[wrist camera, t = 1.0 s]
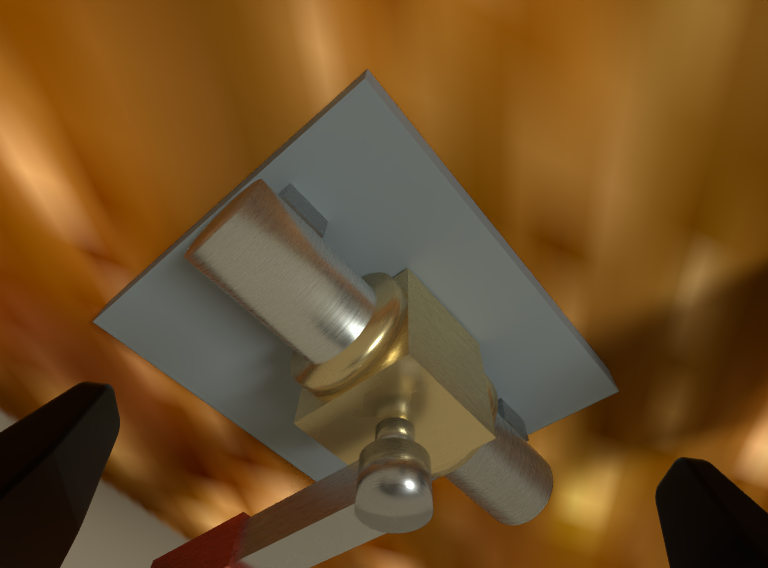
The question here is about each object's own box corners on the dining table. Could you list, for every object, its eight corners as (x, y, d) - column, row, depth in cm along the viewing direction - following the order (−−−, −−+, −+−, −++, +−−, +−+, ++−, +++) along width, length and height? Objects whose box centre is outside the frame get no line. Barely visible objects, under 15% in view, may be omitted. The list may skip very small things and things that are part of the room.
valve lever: (399, 424, 17) (399, 479, 15) (445, 463, 17) (449, 518, 16) (151, 559, 21) (130, 611, 20) (197, 583, 22) (180, 635, 21)
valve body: (553, 420, 26) (593, 549, 20) (466, 462, 28) (481, 590, 22) (292, 142, 18) (245, 227, 13) (199, 226, 20) (124, 330, 15)
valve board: (608, 369, 26) (619, 391, 24) (363, 491, 32) (361, 514, 30) (367, 68, 18) (364, 78, 17) (108, 302, 24) (92, 321, 23)
